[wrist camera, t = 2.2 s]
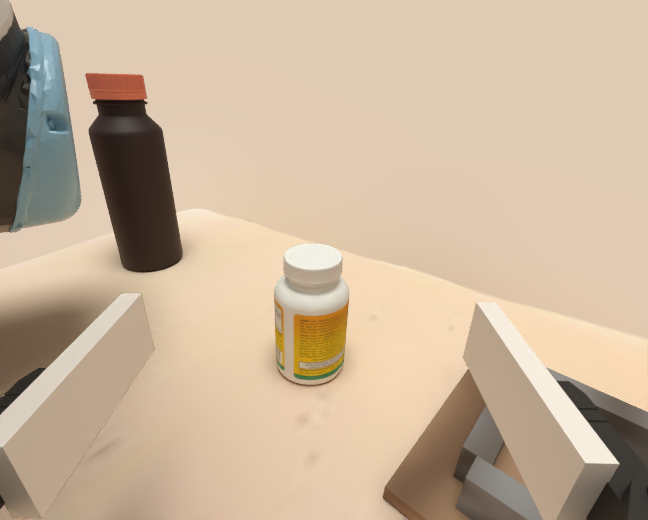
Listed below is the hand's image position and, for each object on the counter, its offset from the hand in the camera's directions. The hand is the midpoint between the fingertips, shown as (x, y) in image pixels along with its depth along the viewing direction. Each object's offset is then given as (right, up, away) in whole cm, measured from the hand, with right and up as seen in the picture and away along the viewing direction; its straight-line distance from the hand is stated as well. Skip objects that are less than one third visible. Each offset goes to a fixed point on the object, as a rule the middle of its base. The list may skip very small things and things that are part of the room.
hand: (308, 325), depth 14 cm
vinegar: (-20, +3, +29) cm, 36 cm away
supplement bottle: (0, -6, +14) cm, 16 cm away
